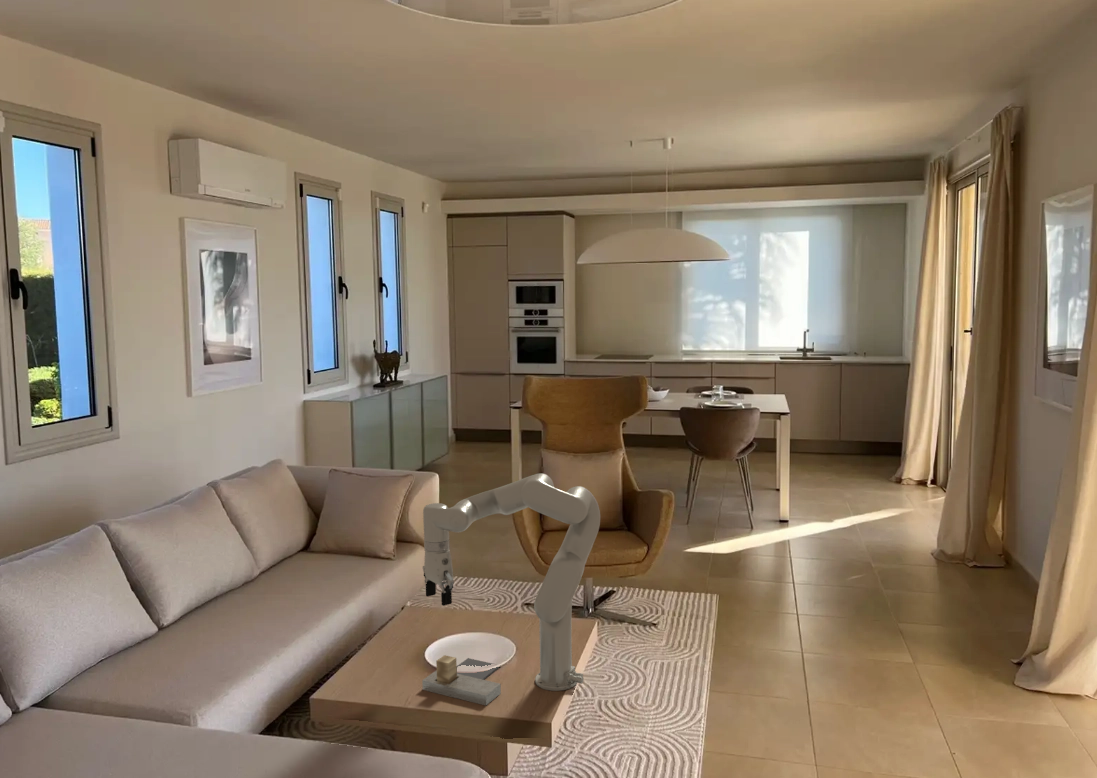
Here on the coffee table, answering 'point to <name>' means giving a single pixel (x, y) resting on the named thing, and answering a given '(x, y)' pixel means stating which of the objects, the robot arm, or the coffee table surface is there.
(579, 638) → the coffee table surface
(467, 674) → the charcoal mat
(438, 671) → the birch peg
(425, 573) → the robot arm
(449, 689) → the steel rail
